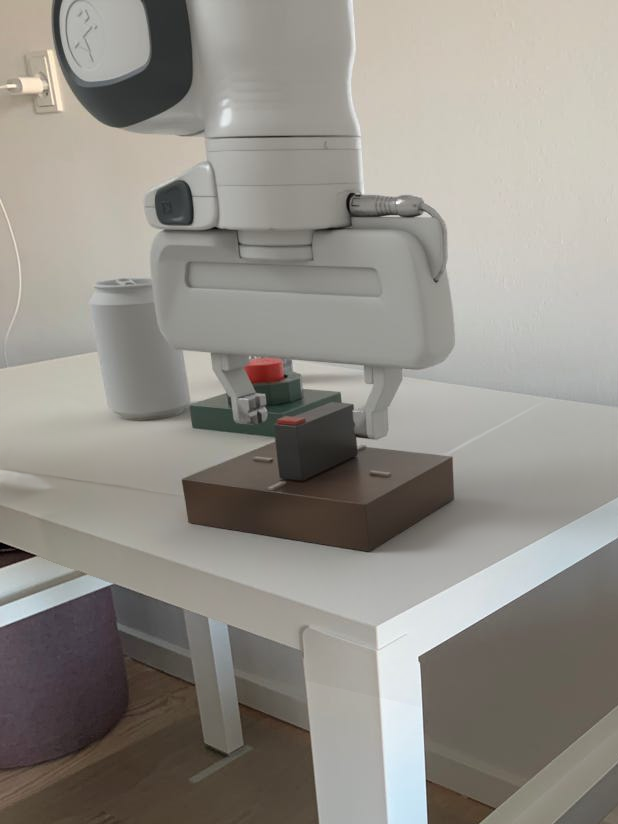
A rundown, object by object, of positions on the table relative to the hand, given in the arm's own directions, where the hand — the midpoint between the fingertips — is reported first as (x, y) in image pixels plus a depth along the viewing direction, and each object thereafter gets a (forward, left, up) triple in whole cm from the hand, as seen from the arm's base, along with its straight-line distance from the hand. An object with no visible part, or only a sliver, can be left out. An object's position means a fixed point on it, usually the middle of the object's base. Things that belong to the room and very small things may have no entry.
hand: (309, 429), depth 64 cm
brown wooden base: (0, +1, -6) cm, 6 cm away
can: (-32, +19, -6) cm, 37 cm away
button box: (-19, +20, -6) cm, 28 cm away
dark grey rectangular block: (0, +1, -3) cm, 3 cm away
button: (-19, +20, -2) cm, 27 cm away
